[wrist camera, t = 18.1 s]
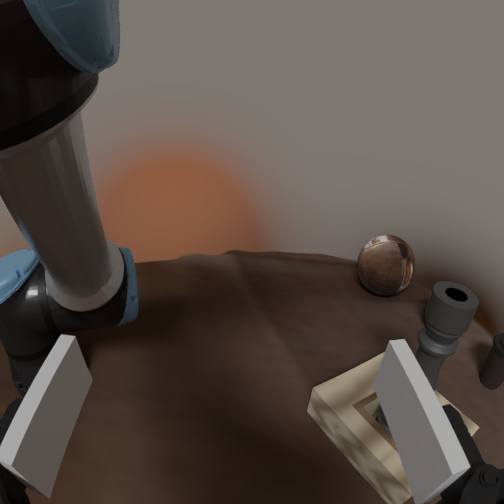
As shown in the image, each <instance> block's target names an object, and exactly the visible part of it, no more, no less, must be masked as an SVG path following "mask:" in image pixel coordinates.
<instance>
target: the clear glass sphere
mask: <svg viewBox="0 0 504 504" xmlns="http://www.w3.org/2000/svg"><path fill="white" fill-rule="evenodd" d="M357 269H358V274H359V277H360V279H361V281H362V283H363V284H364V285H365V286H366V287H367V288H368V289H369V290H370V291H372V292H374V293H376V294H379V295H385V296H387V295H394V294H397V293H399V292H401V291H402V290H403V289H405V288H406V287H407V286H408V285H409V283H410V282H411V280H412V278H413V276H414V272H415V258H414V255H413V252H412V250H411V248H410V247H409V245H408V244H407V243H406V242H405V241H403V240H402V239H400V238H398V237H396V236H392V235H381V236H377V237H375V238H373V239H371V240H370V241H368V242H367V243H366V244H365V245H364V247H363V248H362V250H361V252H360V254H359V257H358V262H357Z"/></svg>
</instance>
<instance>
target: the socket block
mask: <svg viewBox="0 0 504 504" xmlns="http://www.w3.org/2000/svg"><path fill="white" fill-rule="evenodd" d="M384 354H385V352H384V353H382V354H380V355H378V356H376V357H374V358H373V359H371V360H369V361H367V362H365V363H363V364H361V365H359V366H357V367H355V368H353V369H351V370H349V371H347V372H345V373H343V374H341V375H339V376H337V377H335V378H333V379H331V380H329V381H327V382H324V383H322V384H320V385H318V386H316V387H314V388H313V390H312V394H311V398H310V402H309V405H308V409H307V412H308V413H309V414H310V416H311V417H312V418H313V419H314V420H315V422H316V423H317V424H318V425H319V426H320V428H321V429H322V430H323V431H324V432H325V434H326V435H327V436H328V437H329V438H330V439H331V441H332V442H333V443H334V444H335V445H336V446H337V448H338V449H339V450H340V451H341V452H342V453H343V455H344V456H345V457H346V458H347V459H348V460H349V461H350V463H351V464H352V465H353V466H354V467H355V468H356V469H357V470H358V472H359V473H360V474H361V475H362V476H363V477H364V478H365V479H366V481H367V482H368V483H369V484H370V485H371V486H372V487H373V488H374V489H375V490H376V492H377V493H378V494H379V495H380V496H381V497H382V498H383V499H384V500H385V501H386V502H387V503H388V504H403V503H404V502H405V501H407V500H408V499H409V498H410V497H411V496H413V495H412V492H411V489H410V486H409V483H408V480H407V477H406V474H405V471H404V468H403V465H402V462H401V459H400V456H399V454H398V451H397V448H396V445H395V442H394V440H393V437H392V436H391V435H390V434H389V433H388V432H387V431H386V430H385V429H384V428H383V427H382V426H381V425H380V424H379V423H378V422H377V421H376V420H375V419H376V417H377V415H378V413H379V411H380V410H381V409H382V407H381V405H380V402H379V399H378V397H377V394H376V392H375V389H374V387H373V382H374V379H375V377H376V374H377V372H378V369H379V367H380V364H381V362H382V359H383V356H384ZM434 393H435V395H436V397H437V399H438V400H439V402H440V404H441V406H443V405H447V404H451V403H450V402H449V401H448V400H446V399H445V398H444V397H443V396H442V395H440V394H439V393H438V392H437V391H436V390H435V391H434ZM451 405H452V404H451ZM452 406H453V405H452ZM453 407H454V408H455V409H456V410H457V411H458V412H459V413H460V415H461V417H462V419H463V421H464V424H465V425H466V427H467V428H468V432H470V434H471V436H473V434H474V433H475V432H476V431H477V430H478V428H479V427H478V426H477V425H476V424H475V423H473V422H472V421H471V420H470V419H469V418H468V417H466V416H465V415H464V414H463V413H462V412H461V411H459V410H458V409H457V408H456V407H455V406H453Z"/></svg>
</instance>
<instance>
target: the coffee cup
mask: <svg viewBox="0 0 504 504" xmlns="http://www.w3.org/2000/svg"><path fill="white" fill-rule="evenodd" d="M480 381H481V383H482V384H483V385H484V386H485V387H486V388H488V389H497V388H498V387H499V386H500V385H501V383H502V382H503V381H504V333H500V334H498V335H496V336H495V337H494V339H493V346H492V348H491V351H490V353H489V356H488V358H487V361H486V363H485V365H484V368H483V370H482V372H481V374H480Z"/></svg>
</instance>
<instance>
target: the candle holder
mask: <svg viewBox="0 0 504 504" xmlns="http://www.w3.org/2000/svg"><path fill="white" fill-rule="evenodd" d="M478 304H479V300H478V297H477V296H476V295H475V293H474V292H473V291H471V290H470V289H468V288H467V287H465V286H463V285H461V284H459V283H455V282H451V281H441V282H437V283H436V284H435V285H434V287H433V289H432V292H431V295H430V298H429V301H428V304H427V307H426V310H425V323H426V327H424V328H422V329H421V330H420V332H419V334H418V342H419V344H420V346H419V348H418V350H417V353H416V355H415V358H416V360H417V362H418V364H419V365H420V367H421V369H422V371H423V372H424V374H425V376H426V378H427V380H428V382H429V383H430V385H431V387H432V389H433V391H435V387H436V383H437V380H438V375H439V371H440V369H441V367H442V365H443V363H444V361H445V359H446V357H449V356H450V355H452V354H454V352H455V350H456V349H457V347H458V344H457V339H458V338H459V337H461V336H462V335H463V333H464V332H466V331H467V329H468V327H469V325H470V323H471V321H472V318H473V316H474V314H475V311H476V309H477V306H478ZM375 420H376V421H377V422H378V423H379V424H380V425H381V426H382V427H383V428H384V429H385V430H386V431H387V432H388V433H389V434H390V435H391V436H392V434H391V431H390V429H389V426H388V423H387V420H386V418H385V415H384V413H383V410H382V409H381V410H380V411H379V413H378V415H377V417H376V419H375Z"/></svg>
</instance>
